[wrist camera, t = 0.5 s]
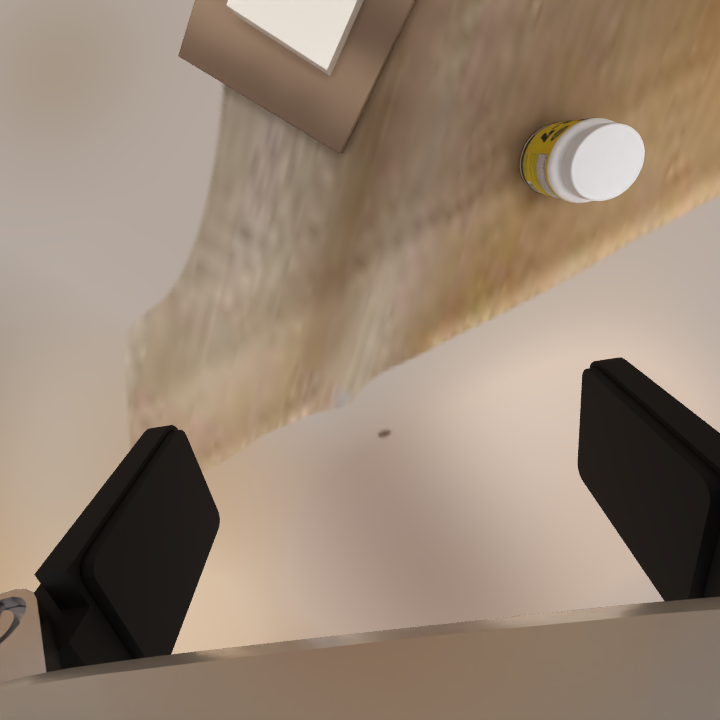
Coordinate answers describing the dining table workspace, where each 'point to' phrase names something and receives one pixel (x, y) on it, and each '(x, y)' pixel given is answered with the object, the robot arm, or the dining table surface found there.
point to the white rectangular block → (303, 25)
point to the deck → (296, 66)
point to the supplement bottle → (582, 159)
